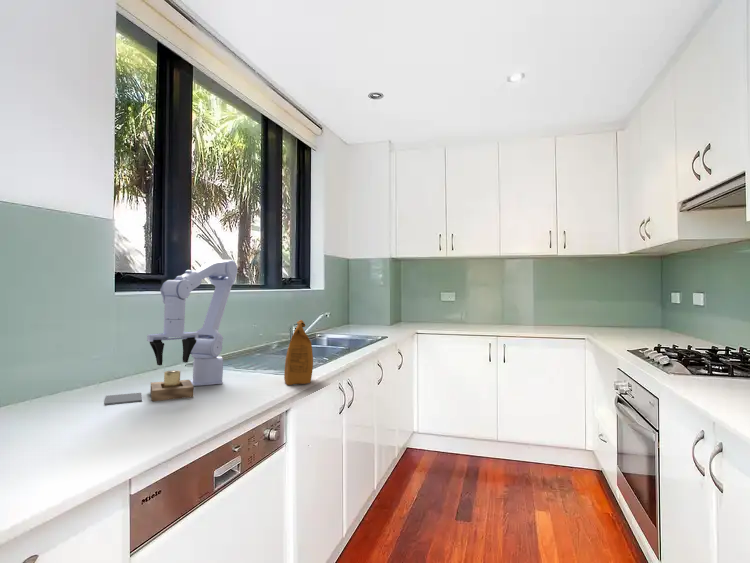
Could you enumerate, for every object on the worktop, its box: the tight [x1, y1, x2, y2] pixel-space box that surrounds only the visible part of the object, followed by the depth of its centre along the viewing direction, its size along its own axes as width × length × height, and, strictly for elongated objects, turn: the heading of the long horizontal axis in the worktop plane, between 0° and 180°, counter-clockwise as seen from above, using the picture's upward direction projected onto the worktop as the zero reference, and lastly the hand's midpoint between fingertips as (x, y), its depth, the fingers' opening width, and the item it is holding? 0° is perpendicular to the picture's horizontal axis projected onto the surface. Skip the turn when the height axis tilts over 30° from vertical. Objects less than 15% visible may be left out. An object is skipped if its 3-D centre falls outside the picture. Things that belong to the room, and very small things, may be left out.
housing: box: [149, 379, 195, 402], centre depth 127 cm, size 11×11×3 cm
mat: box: [104, 392, 143, 406], centre depth 121 cm, size 9×9×1 cm
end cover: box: [163, 369, 181, 388], centre depth 127 cm, size 4×4×7 cm
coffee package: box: [283, 319, 314, 386], centre depth 149 cm, size 10×12×22 cm
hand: (172, 363), depth 127 cm, fingers open, 7 cm apart
